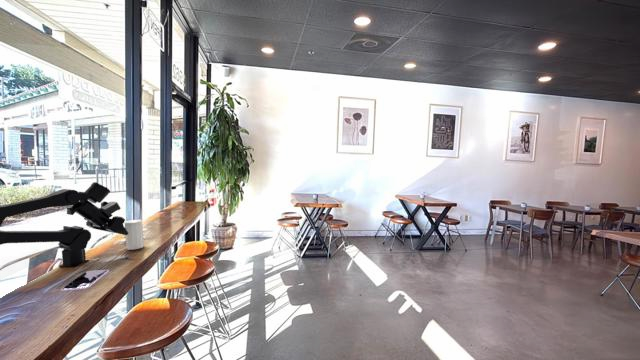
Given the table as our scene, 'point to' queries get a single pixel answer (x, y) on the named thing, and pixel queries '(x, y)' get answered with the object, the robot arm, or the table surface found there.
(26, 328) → the table surface
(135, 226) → the white rounded tall piece
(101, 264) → the table surface
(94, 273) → the mobile phone
